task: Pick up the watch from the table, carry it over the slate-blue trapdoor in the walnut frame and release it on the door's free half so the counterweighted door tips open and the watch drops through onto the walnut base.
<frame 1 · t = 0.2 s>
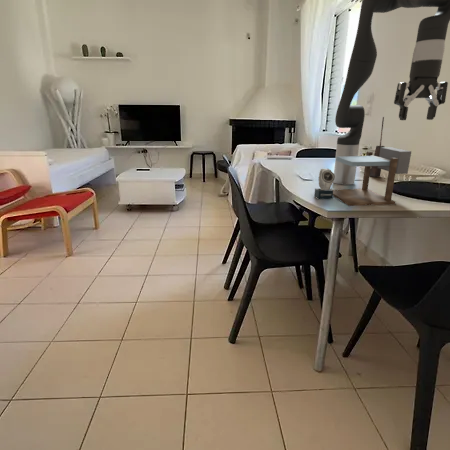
hand: (416, 119, 98), 29 cm above the table, fingers open, 8 cm apart
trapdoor: (371, 160, 120), point 14 cm above the table, hinge at 0.0°
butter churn: (375, 176, 162), on the table
watch: (323, 198, 126), on the table
trapdoor frame: (357, 197, 125), on the table
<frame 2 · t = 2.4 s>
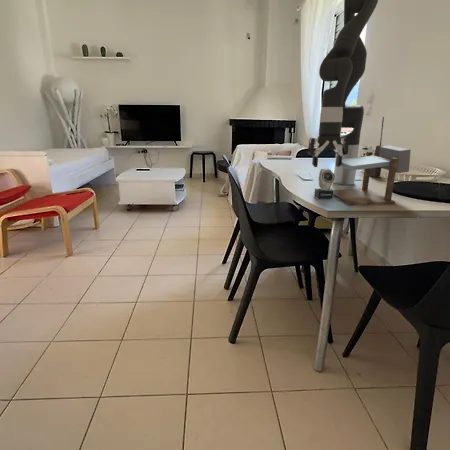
hand: (326, 166, 121), 12 cm above the table, fingers open, 8 cm apart
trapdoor: (371, 161, 120), point 14 cm above the table, hinge at -5.7°, touching gripper
everything else where it was.
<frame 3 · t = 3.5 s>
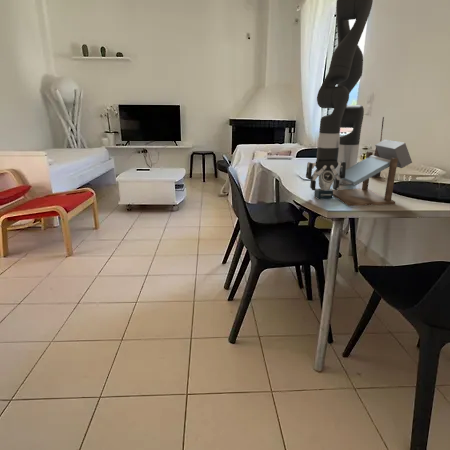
hand: (324, 189, 125), 3 cm above the table, fingers open, 8 cm apart
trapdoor: (371, 165, 121), point 12 cm above the table, hinge at -29.5°, touching gripper
everything else where it was.
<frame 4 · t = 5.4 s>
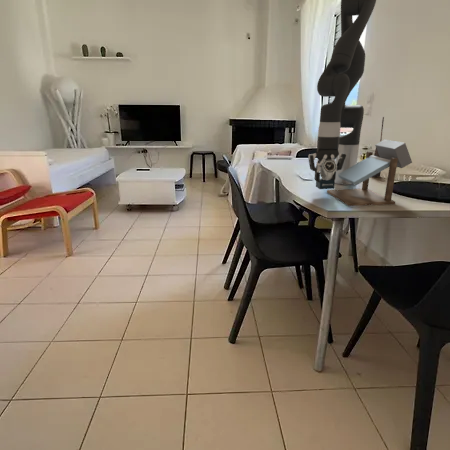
hand: (324, 181, 124), 6 cm above the table, fingers closed on watch, 5 cm apart
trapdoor: (371, 165, 121), point 12 cm above the table, hinge at -29.5°
watch: (324, 188, 125), point 4 cm above the table, touching gripper
everything else where it was.
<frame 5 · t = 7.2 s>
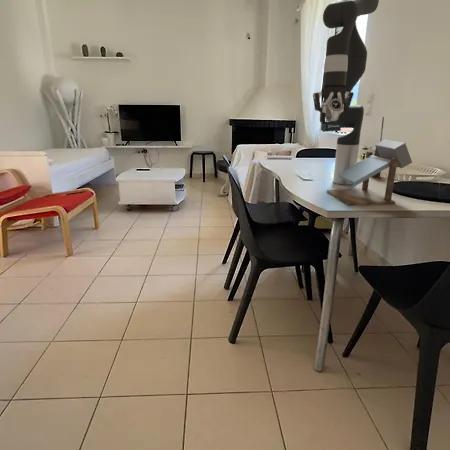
hand: (330, 123, 117), 27 cm above the table, fingers closed on watch, 5 cm apart
watch: (330, 131, 118), point 25 cm above the table, touching gripper
everything else where it was.
when the fingers open (20 cm above the table, at t = 10.0 s): watch drops 12 cm, point 5 cm above the table.
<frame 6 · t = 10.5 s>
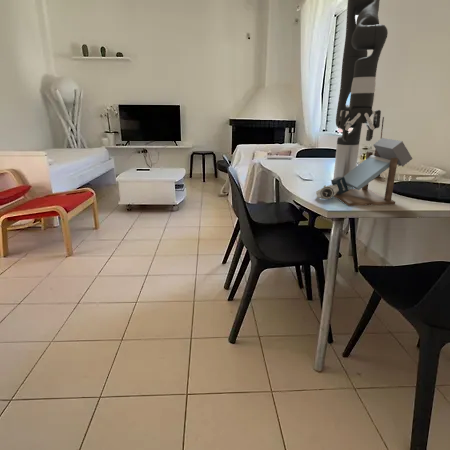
hand: (356, 141, 117), 21 cm above the table, fingers open, 8 cm apart
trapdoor: (372, 166, 121), point 12 cm above the table, hinge at -38.6°
watch: (343, 183, 124), point 5 cm above the table
everything else where it was.
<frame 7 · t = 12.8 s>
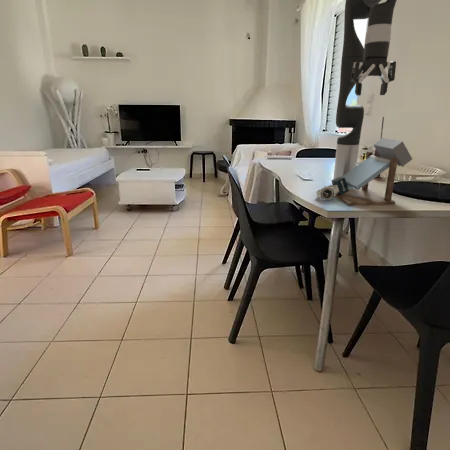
hand: (370, 95, 113), 36 cm above the table, fingers open, 8 cm apart
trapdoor: (372, 166, 121), point 12 cm above the table, hinge at -37.6°
watch: (344, 183, 124), point 5 cm above the table, touching trapdoor frame
everything else where it was.
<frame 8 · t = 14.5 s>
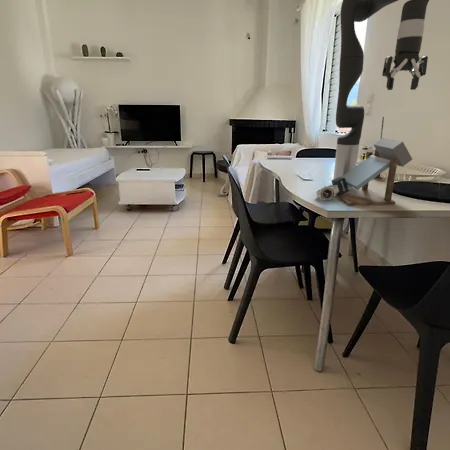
hand: (401, 89, 115), 38 cm above the table, fingers open, 8 cm apart
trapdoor: (372, 166, 121), point 12 cm above the table, hinge at -37.1°
everything else where it was.
at the end: watch inside the target area (5.8 cm from its centre), point 5.2 cm above the table; the gripper is holding nothing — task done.
